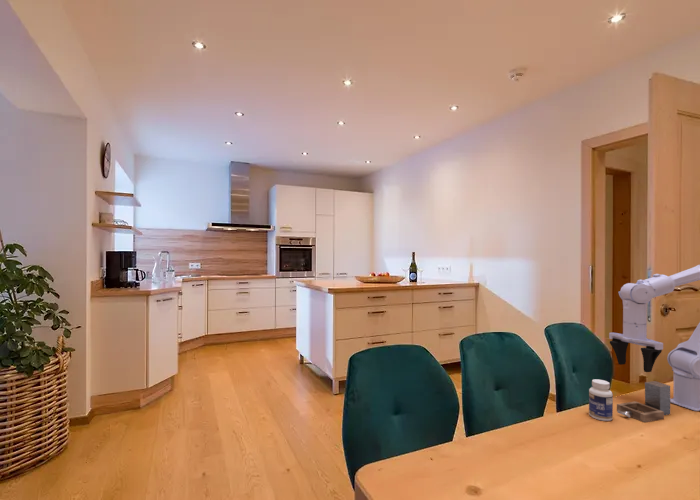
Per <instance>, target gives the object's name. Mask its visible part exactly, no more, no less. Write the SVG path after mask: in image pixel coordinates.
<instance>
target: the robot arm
mask: <svg viewBox="0 0 700 500" xmlns="http://www.w3.org/2000/svg"><path fill="white" fill-rule="evenodd" d="M697 281H698V282H699V281H700V264H697V265H695V266H693V267H691V268H688V269H685V270H682V271H680V272H679V271H678V272H676V273H674V274H671V275H669V276H668V275H666V274H660V273H655V274H652V277H649V278H646V279H638V280H636V283H633V282H627V283H625V284H623V285H622V286H621V287H620V291H618V296H619V298H620V299H621V300H622V309H623V310H622V333H618V332H609V333H608V337H609V338H608V339H609V340H610V341H609V344H610V346H611V348H612V349H613V352H614V355H615V356H616V359H617V364H618V365H626V362H627V350H628V346H629V344H634V345H638V346H642V347H640V351H641V355H642V360H643V372H644V373H652V371H653V367H654V365H655V362H656V360H657V359H658V358H659V356H660V354H661V353H662V351H663V350H664V342H660V341H657V340H654V339H650V338H647V337H648V334H647V332H648V325H647V324H648V322H647V321H648V314H647V313H648V303H649V302H651V300H652V299H654V298H658V297H661V296H664V295H667V294H670V293H672V292H674V290H675V287H679V286H682V285H687V284H690V283H694V282H697ZM666 360H667V364H669V366H670V367H671V371H673V397H672V398H670V404H674V405H677V406H680V407H683V408H686V409H689V410H691V411H694V412H700V321H699V323H698V324H697V325H696V328H695V329H694V330H693V332H692V333H691V335H690V337H689V339H688V340H686V341H683V342H682V341H681V342H680V343H678V344H677V346H676V347H675V348H673V349H672V350H671V351H669V352H668V354H667V357H666Z"/></svg>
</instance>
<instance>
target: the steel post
mask: <svg viewBox="0 0 700 500" xmlns="http://www.w3.org/2000/svg"><path fill="white" fill-rule="evenodd" d="M670 399H671V385H669V384H665V383H663V382H659V381H656V380H654V381H645V382H644V405H647V406H650V407H652V408H655V409H658V410H661V411H663V412H664V416H668V415H669V414H670V415H671V402H670Z"/></svg>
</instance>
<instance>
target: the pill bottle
mask: <svg viewBox="0 0 700 500" xmlns="http://www.w3.org/2000/svg"><path fill="white" fill-rule="evenodd" d="M610 385H611V384H610V382H609V381H607V380H604V379H594V378H593V379H592V380H591V387H590V388H588V414H589V416H590V417H592V418H593V419H596V420H599V421H601V422H609V421H612V420H613V418H614V417H613V411H614V409H613V407H614V405H613V403H614V402H613V401H614V399H613V398H614V395H613V392H612V391H611V390H610V388H611V386H610Z"/></svg>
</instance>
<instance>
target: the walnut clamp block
mask: <svg viewBox="0 0 700 500" xmlns="http://www.w3.org/2000/svg"><path fill="white" fill-rule="evenodd" d="M616 412H617V414H619V415H623V416H625V417H628V418H632V419H634V420H638V421H640V422H642V423H649V422H655V421H656V422H657V421H660V420H665V415H664V412H663V411H661V410H658V409H655V408H652V407H650V406H647V405H645V403H641V402H638V401H635V400H634V401H630V402H622V403H616Z"/></svg>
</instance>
